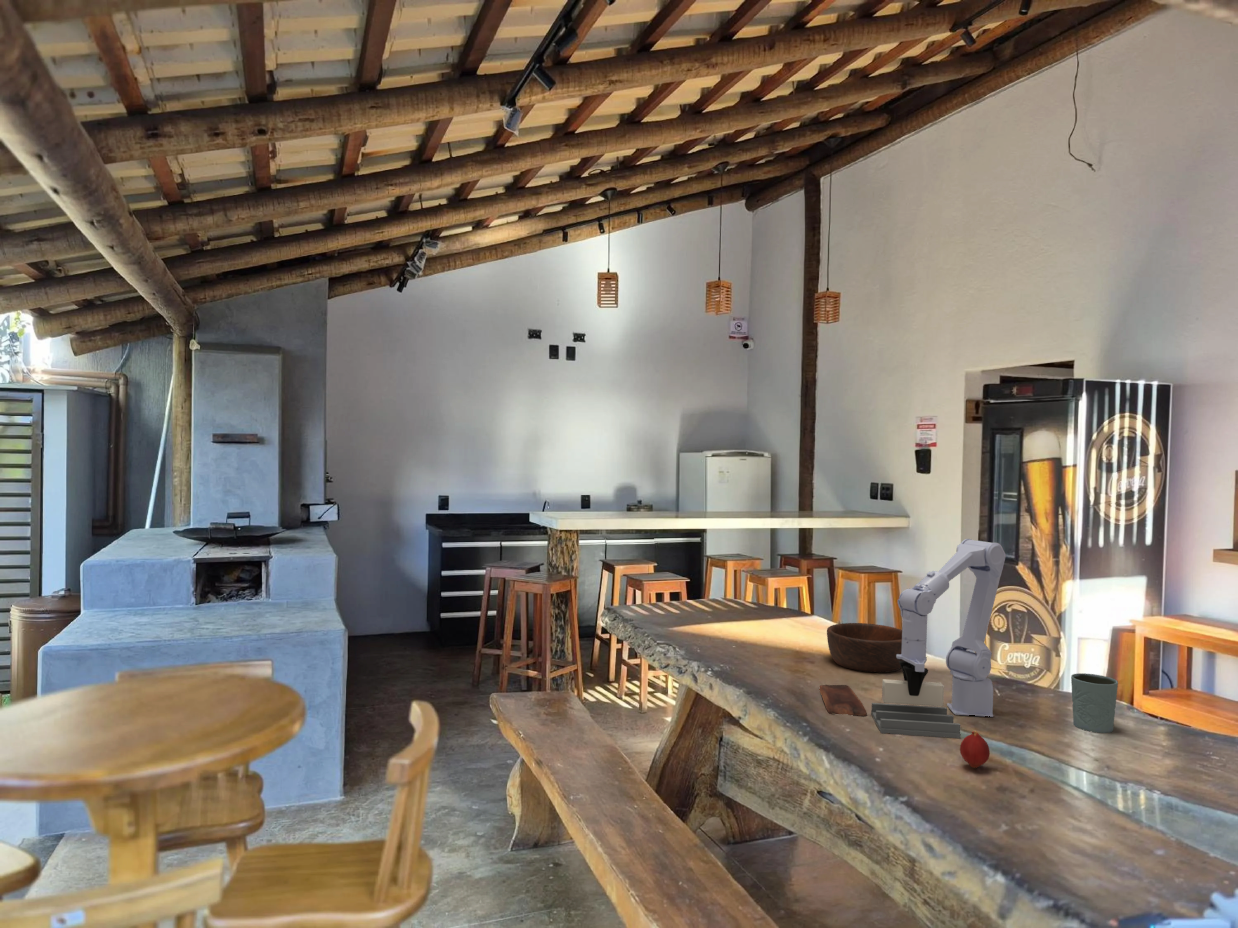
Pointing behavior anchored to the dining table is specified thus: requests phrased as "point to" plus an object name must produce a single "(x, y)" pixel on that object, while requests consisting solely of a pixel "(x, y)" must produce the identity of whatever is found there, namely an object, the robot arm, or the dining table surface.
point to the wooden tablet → (841, 700)
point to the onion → (974, 750)
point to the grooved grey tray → (915, 720)
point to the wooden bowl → (865, 646)
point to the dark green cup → (1094, 702)
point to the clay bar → (900, 695)
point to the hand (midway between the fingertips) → (912, 693)
